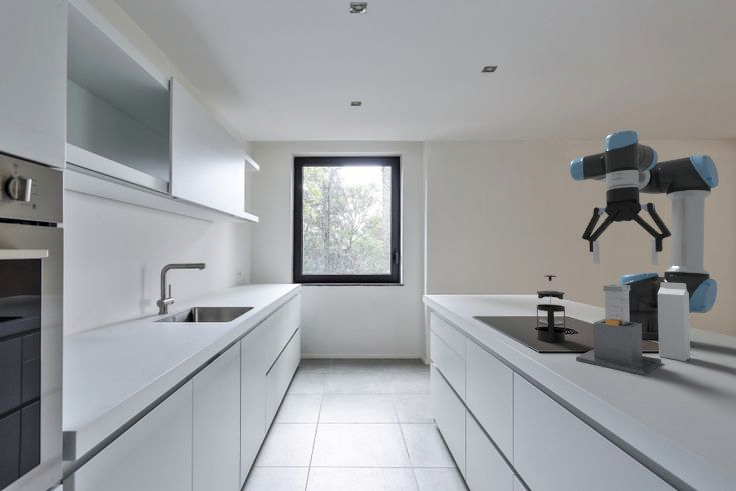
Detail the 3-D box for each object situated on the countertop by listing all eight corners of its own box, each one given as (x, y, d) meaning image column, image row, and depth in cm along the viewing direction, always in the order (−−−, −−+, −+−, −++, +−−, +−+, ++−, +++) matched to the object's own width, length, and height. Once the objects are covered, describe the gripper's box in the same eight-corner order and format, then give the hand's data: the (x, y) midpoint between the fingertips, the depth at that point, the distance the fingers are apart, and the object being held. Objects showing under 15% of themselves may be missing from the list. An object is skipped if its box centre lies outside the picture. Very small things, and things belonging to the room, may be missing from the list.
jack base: (597, 350, 112) (596, 312, 112) (661, 362, 100) (660, 319, 100) (576, 360, 102) (575, 318, 102) (644, 375, 90) (643, 326, 90)
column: (613, 353, 105) (611, 284, 105) (631, 356, 101) (630, 285, 102) (604, 357, 101) (603, 285, 101) (623, 361, 97) (622, 287, 97)
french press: (567, 344, 120) (566, 276, 120) (536, 341, 124) (535, 275, 124) (564, 337, 130) (563, 274, 131) (536, 334, 135) (535, 273, 135)
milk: (685, 361, 101) (683, 284, 101) (658, 356, 106) (657, 282, 106) (690, 357, 105) (689, 282, 105) (664, 352, 109) (663, 281, 110)
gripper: (568, 193, 106) (570, 263, 106) (678, 179, 87) (680, 265, 87) (578, 195, 111) (580, 262, 111) (683, 182, 92) (686, 264, 92)
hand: (624, 264), depth 99 cm, fingers open, 13 cm apart
